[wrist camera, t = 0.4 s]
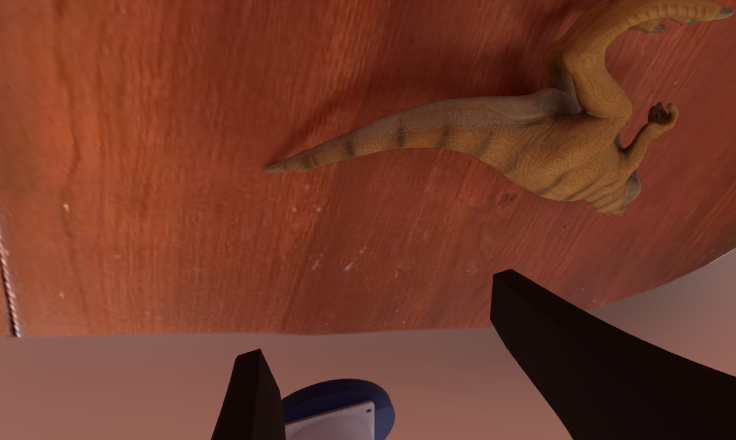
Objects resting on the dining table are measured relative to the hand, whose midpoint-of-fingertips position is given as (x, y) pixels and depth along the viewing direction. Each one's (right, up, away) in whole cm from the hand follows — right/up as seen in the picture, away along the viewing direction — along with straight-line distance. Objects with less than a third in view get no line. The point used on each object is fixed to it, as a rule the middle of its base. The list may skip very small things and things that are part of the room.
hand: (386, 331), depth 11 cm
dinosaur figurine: (+6, +9, +9) cm, 14 cm away
